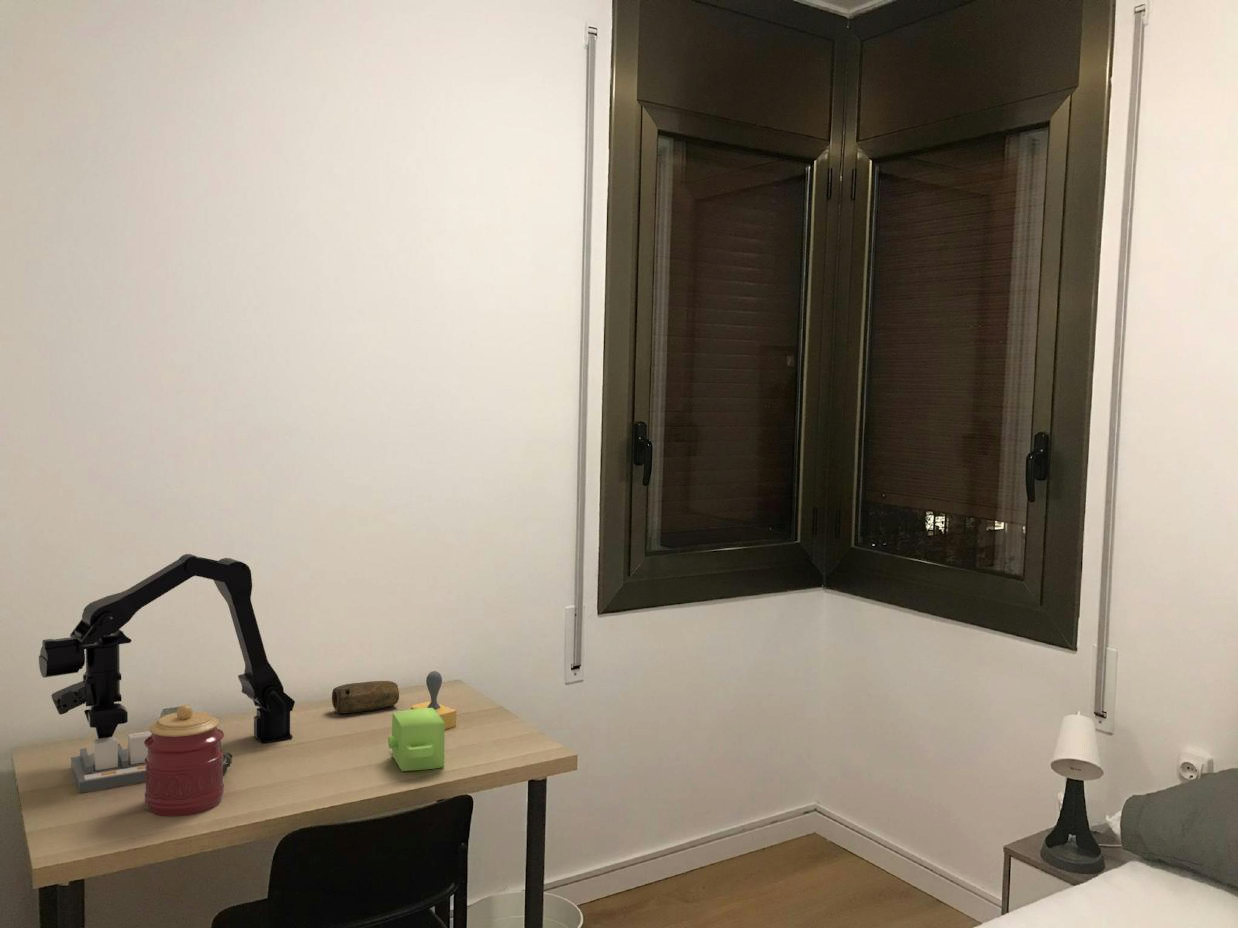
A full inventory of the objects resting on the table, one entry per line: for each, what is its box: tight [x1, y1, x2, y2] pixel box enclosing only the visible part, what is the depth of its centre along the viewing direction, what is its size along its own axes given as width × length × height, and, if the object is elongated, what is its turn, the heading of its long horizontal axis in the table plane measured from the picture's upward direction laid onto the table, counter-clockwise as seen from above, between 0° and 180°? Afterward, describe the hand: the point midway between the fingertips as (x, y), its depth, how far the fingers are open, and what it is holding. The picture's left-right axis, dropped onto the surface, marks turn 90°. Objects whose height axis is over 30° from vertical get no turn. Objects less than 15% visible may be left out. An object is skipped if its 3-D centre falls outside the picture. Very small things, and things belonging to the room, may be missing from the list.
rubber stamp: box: [410, 670, 457, 730], centre depth 228 cm, size 10×6×12 cm, turn 46°
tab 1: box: [92, 736, 119, 771], centre depth 192 cm, size 4×3×5 cm
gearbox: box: [387, 708, 446, 772], centre depth 204 cm, size 18×10×10 cm, turn 23°
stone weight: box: [331, 680, 400, 714], centre depth 237 cm, size 15×7×7 cm, turn 128°
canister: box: [144, 704, 225, 817], centre depth 180 cm, size 13×13×18 cm
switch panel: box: [70, 742, 146, 794], centre depth 194 cm, size 16×15×4 cm
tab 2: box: [127, 730, 152, 765], centre depth 195 cm, size 4×3×5 cm
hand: (103, 748), depth 194 cm, fingers closed
